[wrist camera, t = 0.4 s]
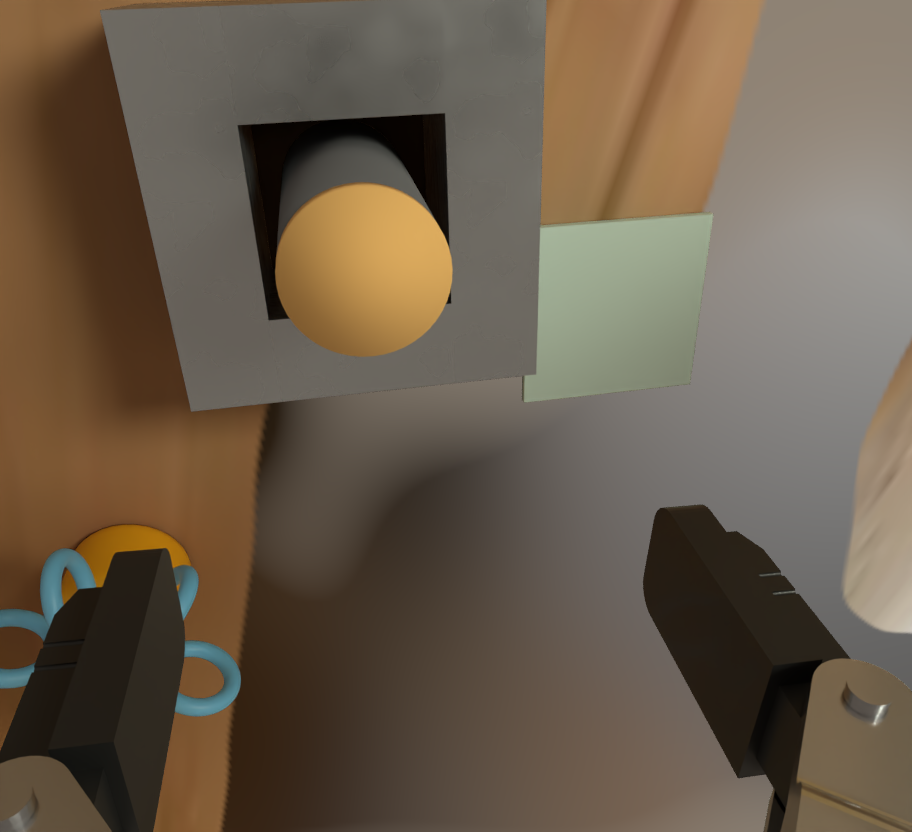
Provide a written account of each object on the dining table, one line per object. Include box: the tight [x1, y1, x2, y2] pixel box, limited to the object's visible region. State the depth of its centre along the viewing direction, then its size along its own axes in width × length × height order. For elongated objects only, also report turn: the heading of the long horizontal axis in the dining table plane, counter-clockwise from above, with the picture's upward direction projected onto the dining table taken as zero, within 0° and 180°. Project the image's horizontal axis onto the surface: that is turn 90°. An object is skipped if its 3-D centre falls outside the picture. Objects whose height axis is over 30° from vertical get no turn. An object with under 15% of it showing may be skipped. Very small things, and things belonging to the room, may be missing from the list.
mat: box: [522, 212, 713, 403], centre depth 38 cm, size 9×9×1 cm
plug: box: [275, 119, 453, 357], centre depth 28 cm, size 5×5×12 cm
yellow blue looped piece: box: [0, 524, 241, 716], centre depth 34 cm, size 12×10×15 cm
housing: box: [100, 0, 546, 412], centre depth 31 cm, size 14×14×6 cm
